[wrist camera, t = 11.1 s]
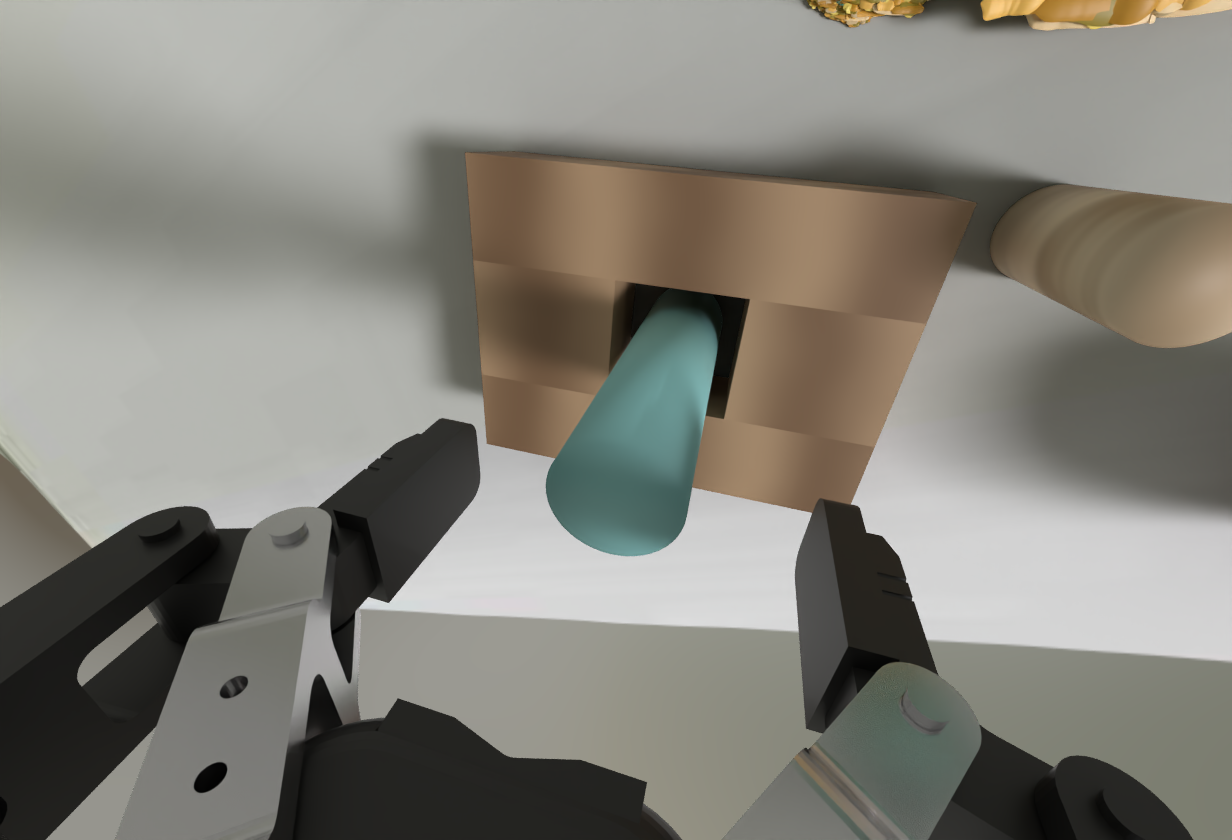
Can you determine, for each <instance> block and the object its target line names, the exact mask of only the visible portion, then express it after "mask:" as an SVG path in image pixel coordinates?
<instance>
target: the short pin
mask: <svg viewBox="0 0 1232 840" xmlns="http://www.w3.org/2000/svg"><path fill="white" fill-rule="evenodd" d="M990 254H991V258H992V261H993V263H994V265H995V266H996V268H997V269H998V270H999V271H1000V272H1001V273H1003V274H1004V275H1006V276H1008V277H1010V278H1012V279H1013V280H1015V281H1017V282H1019V283H1021V284H1023V285H1025V286H1027V287H1029V288H1031V289H1033V290H1035V291H1037V292H1039V293H1041V294H1043V295H1045V296H1047V297H1048V298H1050V299H1052V300H1054V301H1056V302H1058V303H1060V304H1062V305H1064V306H1066V307H1068V308H1070V309H1072V310H1074V311H1076V312H1078V313H1080V314H1082V315H1084V316H1085V317H1087V318H1089V319H1091V320H1093V321H1095V322H1097V323H1099V324H1101V325H1103V326H1105V327H1107V328H1109V329H1111V330H1113V331H1115V332H1117V333H1119V334H1120V335H1122V336H1124V337H1126V338H1128V339H1130V340H1132V341H1134V342H1136V343H1139V344H1142V345H1146V346H1151V347H1159V348H1178V347H1186V346H1192V345H1196V344H1201V343H1204V342H1208V341H1211V340H1214V339H1216V338H1219V337H1222V336H1224V335H1226V334H1228V333H1230V332H1232V204H1229V203H1221V202H1212V201H1204V200H1195V199H1187V198H1179V197H1170V196H1162V195H1153V194H1145V193H1137V192H1128V191H1120V190H1111V189H1103V188H1095V187H1086V186H1078V185H1069V184H1060V185H1053V186H1048V187H1044V188H1041V189H1039V190H1036V191H1034V192H1032V193H1030V194H1028V195H1026V196H1024V197H1023V198H1021V199H1020V200H1019V201H1017V202H1016V203H1015V204H1014V205H1012V206H1011V207H1010V208H1009V209H1008V210H1007V211H1006V212H1005V214H1004V215H1003V216H1002V217H1001V219H1000V220H999V222H998V223H997V225H996V227H995V229H994V231H993V234H992V237H991V241H990Z"/></svg>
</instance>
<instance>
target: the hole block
mask: <svg viewBox="0 0 1232 840" xmlns="http://www.w3.org/2000/svg"><path fill="white" fill-rule="evenodd" d="M465 158H466V171H467V185H468V198H469V211H470V225H471V238H472V251H473V265H474V278H475V291H476V305H477V318H478V331H479V345H480V358H481V372H482V385H483V398H484V412H485V425H486V438H487V444H491V445H495V446H500V447H505V448H509V449H514V450H519V451H524V452H528V453H533V454H538V455H542V456H547V457H552V458H556V457H557V455H558V454H559V452H560V451H561V449H562V448H563V446H564V444H565V443H566V441H567V440H568V438H569V437H570V435H571V433H572V432H573V430H574V429H575V427H576V426H577V424H578V423H579V421H580V419H581V418H582V416H583V415H584V413H585V412H586V410H587V408H588V407H589V405H590V404H591V402H592V401H593V399H594V398H595V396H596V394H597V393H598V391H599V390H600V388H601V387H602V385H603V384H604V382H605V380H606V379H607V377H608V376H609V374H610V373H611V371H612V369H613V368H614V366H615V365H616V363H617V362H618V360H619V359H620V357H621V355H622V354H623V352H624V351H625V349H626V348H627V346H628V344H629V343H630V338H631V327H632V317H633V306H634V295H635V285H636V283H639V284H646V285H653V286H660V287H667V288H674V289H681V290H688V291H695V292H703V293H710V294H717V295H724V296H731V297H738V298H745V299H746V300H745V304H744V309H743V314H742V318H741V323H740V328H739V332H738V337H737V342H736V346H735V351H734V356H733V360H732V365H731V370H730V374H729V378H725V377H719V376H714V375H713V377H712V383H711V388H710V393H709V399H708V404H707V410H706V415H705V420H704V426H703V431H702V436H701V442H700V447H699V453H698V458H697V463H696V469H695V474H694V479H693V485H692V487H693V488H698V489H703V490H707V491H712V492H717V493H721V494H726V495H731V496H736V497H740V498H745V499H750V500H754V501H759V502H764V503H769V504H773V505H778V506H783V507H787V508H792V509H797V510H801V511H806V512H811V513H813V510H814V508H815V505H816V503H817V501H818V500H819V499H820V498H822V499H827V500H832V501H836V502H841V503H846V504H851V502H852V500H853V497H854V495H855V493H856V490H857V488H858V486H859V483H860V481H861V478H862V476H863V474H864V471H865V469H866V466H867V464H868V462H869V459H870V457H871V455H872V452H873V450H874V447H875V445H876V443H877V440H878V438H879V435H880V433H881V431H882V428H883V426H884V424H885V421H886V419H887V416H888V414H889V412H890V409H891V407H892V404H893V402H894V400H895V397H896V395H897V392H898V390H899V388H900V385H901V383H902V381H903V378H904V376H905V373H906V371H907V369H908V366H909V364H910V361H911V359H912V357H913V354H914V352H915V350H916V347H917V345H918V342H919V340H920V338H921V335H922V333H923V330H924V328H925V326H926V323H927V321H928V319H929V316H930V314H931V311H932V309H933V307H934V304H935V302H936V299H937V297H938V295H939V292H940V290H941V288H942V285H943V283H944V280H945V278H946V276H947V273H948V271H949V268H950V266H951V264H952V261H953V259H954V257H955V254H956V252H957V249H958V247H959V245H960V242H961V240H962V237H963V235H964V233H965V230H966V228H967V226H968V223H969V221H970V218H971V216H972V214H973V211H974V209H975V206H976V204H977V203H975V202H971V201H968V200H964V199H960V198H956V197H952V196H948V195H944V194H940V193H936V192H930V191H920V190H909V189H899V188H888V187H878V186H868V185H857V184H847V183H837V182H826V181H816V180H805V179H795V178H785V177H774V176H764V175H754V174H743V173H733V172H722V171H712V170H702V169H691V168H681V167H670V166H660V165H650V164H639V163H629V162H619V161H608V160H598V159H587V158H577V157H567V156H556V155H546V154H536V153H525V152H515V151H512V152H465Z"/></svg>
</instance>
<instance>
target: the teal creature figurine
mask: <svg viewBox="0 0 1232 840" xmlns="http://www.w3.org/2000/svg"><path fill="white" fill-rule="evenodd" d="M806 1H807V2H808V4H809V5H810V6H812V9H815V8H816V6H817V8H818V10H819V11H822V12H823V11H825V12H823V13H825V14H824V15H825V16H826V17H830V19H832V20H837V21H841V22H843V23H847V24H848V26H849V27H858V26H859V25H860V24H865V23H868V22H870V20H869V19H871V18H872V17H878V16H884V15H905V17H907V18H910V17H912V16H914V15H916V14H919V13H921V12H923V10H924V7H923V6H922V5H924V3H925V2H927V1H930V0H806ZM980 4H981V8H982V11H983V19H984V20H986V21H988V20H992V19H995V18H1000V17H1003V16H1008V15H1011V16H1018V15H1026V17H1027V20H1028V23H1029V26H1030V27H1032V28H1033V29H1039V30H1048V31H1049V30H1054V29H1067V28H1090V29H1098V28H1113V27H1125V26H1132V25H1138V24H1143V23H1149V24H1151V23H1154V22H1155V19H1156V17H1157V18H1159V17H1180V16H1191V15H1199V14H1206V13H1213V12H1219V11H1225V10H1230V9H1232V0H983V1H982V2H981V3H980Z"/></svg>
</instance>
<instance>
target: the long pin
mask: <svg viewBox="0 0 1232 840" xmlns="http://www.w3.org/2000/svg"><path fill="white" fill-rule="evenodd" d="M722 322H723V320H722V312H721V308H720V306H719V304H718V302H717V301H716V299H715V298H714V297H713V296H712V295H711V294H710V293H703V292H695V291H688V290H681V289H674V288H671V289H669V290H667V291H665V292H664V293H663V294H662V295H661V296H660V297H659V298H658V299H657V301H656V302H655V304H654V305H653V307H652V309H651V310H650V312H649V313H648V315H647V316H646V318H645V319H644V321H643V323H642V324H641V326H640V327H639V329H638V330H637V332H636V334H635V335H634V337H633V338H632V340H631V341H630V343H629V344H628V346H627V348H626V349H625V351H624V352H623V354H622V355H621V357H620V359H619V360H618V362H617V363H616V365H615V366H614V368H613V369H612V371H611V373H610V374H609V376H608V377H607V379H606V380H605V382H604V384H603V385H602V387H601V388H600V390H599V391H598V393H597V394H596V396H595V398H594V399H593V401H592V402H591V404H590V405H589V407H588V408H587V410H586V412H585V413H584V415H583V416H582V418H581V419H580V421H579V423H578V424H577V426H576V427H575V429H574V430H573V432H572V433H571V435H570V437H569V438H568V440H567V441H566V443H565V444H564V446H563V448H562V449H561V451H560V452H559V454H558V455H557V457H556V458H555V460H554V462H553V463H552V465H551V467H550V469H549V471H548V475H547V479H546V494H547V498H548V502H549V505H550V507H551V509H552V511H553V513H554V515H555V517H556V518H557V520H558V521H559V522H560V523H561V525H562V526H563V527H564V528H565V529H566V530H567V531H568V532H569V533H570V534H571V535H573V536H574V537H575V538H577V539H578V540H580V541H581V542H583V543H584V544H586V545H588V546H590V547H592V548H594V549H597V550H599V551H602V552H606V553H609V554H614V555H620V556H640V555H646V554H650V553H653V552H656V551H659V550H661V549H663V548H664V547H666V546H668V545H669V544H670V543H672V542H673V541H674V540H675V539H676V538H677V536H678V535H679V534H680V532H681V531H682V529H683V527H684V524H685V521H686V517H687V512H688V506H689V501H690V496H691V490H692V485H693V479H694V474H695V469H696V463H697V458H698V453H699V447H700V442H701V436H702V431H703V426H704V420H705V415H706V410H707V404H708V399H709V393H710V388H711V383H712V377H713V372H714V366H715V361H716V356H717V350H718V345H719V340H720V334H721V329H722Z"/></svg>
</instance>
